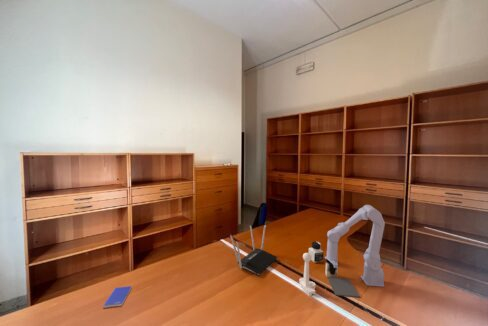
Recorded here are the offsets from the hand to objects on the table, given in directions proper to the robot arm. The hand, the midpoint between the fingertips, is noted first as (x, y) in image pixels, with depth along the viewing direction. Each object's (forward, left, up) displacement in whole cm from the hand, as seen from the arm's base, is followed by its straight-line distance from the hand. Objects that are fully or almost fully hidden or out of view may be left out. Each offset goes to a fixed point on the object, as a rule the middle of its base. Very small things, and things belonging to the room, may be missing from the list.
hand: (331, 272), depth 120 cm
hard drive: (+114, +32, -3) cm, 118 cm away
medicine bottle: (+5, -17, -2) cm, 18 cm away
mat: (-3, +10, -2) cm, 11 cm away
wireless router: (+47, -9, -2) cm, 48 cm away
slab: (0, 0, -2) cm, 2 cm away
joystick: (+16, +13, -2) cm, 21 cm away
